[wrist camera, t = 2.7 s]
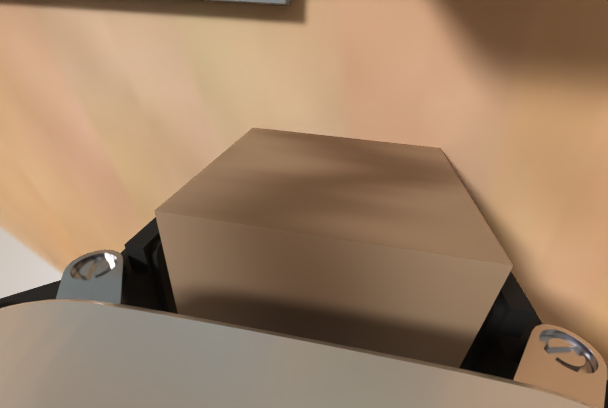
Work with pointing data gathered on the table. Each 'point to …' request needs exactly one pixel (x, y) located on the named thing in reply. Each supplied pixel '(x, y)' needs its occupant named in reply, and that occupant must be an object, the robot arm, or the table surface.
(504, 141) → the table surface
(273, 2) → the slate mat
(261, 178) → the walnut block
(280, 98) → the table surface
